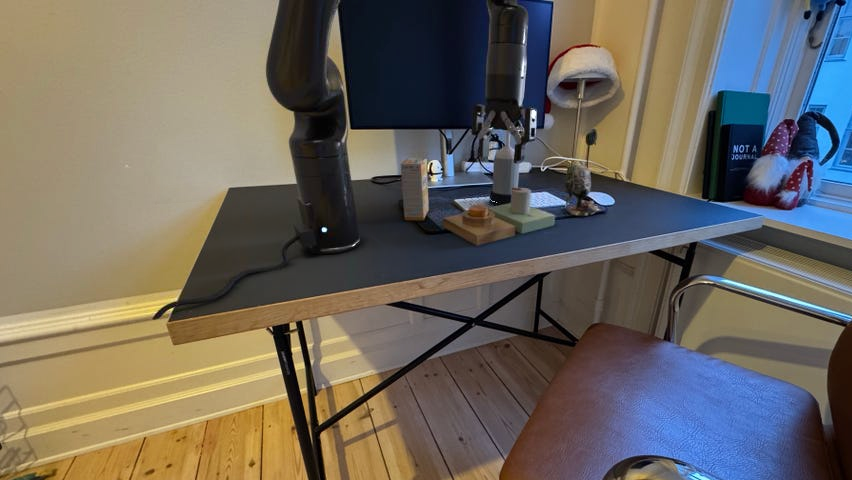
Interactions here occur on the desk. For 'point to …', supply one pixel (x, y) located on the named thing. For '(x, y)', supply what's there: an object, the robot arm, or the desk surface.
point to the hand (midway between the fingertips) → (500, 160)
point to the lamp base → (479, 227)
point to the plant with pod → (581, 183)
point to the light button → (478, 211)
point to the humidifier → (504, 174)
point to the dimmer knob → (520, 200)
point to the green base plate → (524, 218)
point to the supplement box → (415, 188)
